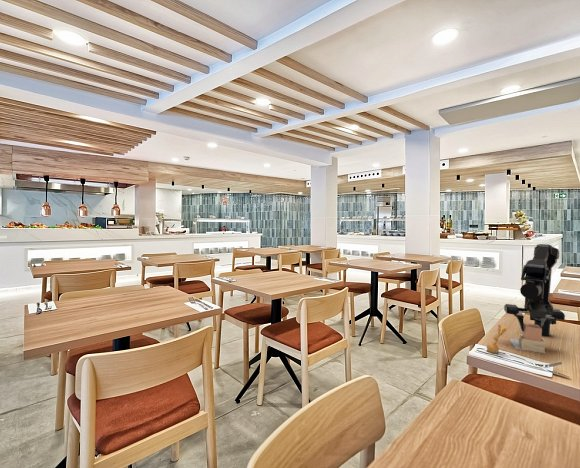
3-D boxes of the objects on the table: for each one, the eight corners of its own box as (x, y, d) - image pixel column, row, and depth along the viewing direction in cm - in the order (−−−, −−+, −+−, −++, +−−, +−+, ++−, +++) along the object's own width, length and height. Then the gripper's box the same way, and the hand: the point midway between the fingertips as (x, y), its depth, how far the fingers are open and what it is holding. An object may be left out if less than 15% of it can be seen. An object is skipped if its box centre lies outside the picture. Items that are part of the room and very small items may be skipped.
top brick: (522, 334, 132) (523, 323, 131) (537, 336, 130) (538, 324, 129) (525, 339, 127) (526, 326, 127) (541, 341, 125) (541, 328, 125)
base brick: (518, 343, 133) (519, 333, 133) (539, 346, 130) (539, 336, 130) (522, 349, 127) (523, 339, 127) (544, 352, 124) (545, 342, 124)
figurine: (488, 348, 129) (490, 319, 128) (506, 353, 125) (508, 322, 124) (484, 355, 122) (486, 324, 122) (503, 359, 118) (504, 328, 118)
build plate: (508, 339, 138) (509, 338, 138) (537, 343, 134) (537, 342, 134) (515, 350, 127) (515, 348, 127) (546, 354, 123) (546, 353, 123)
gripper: (510, 296, 124) (508, 335, 125) (571, 302, 116) (569, 343, 117) (504, 290, 134) (502, 326, 135) (560, 295, 126) (558, 333, 127)
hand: (531, 332), depth 128 cm, fingers open, 6 cm apart
